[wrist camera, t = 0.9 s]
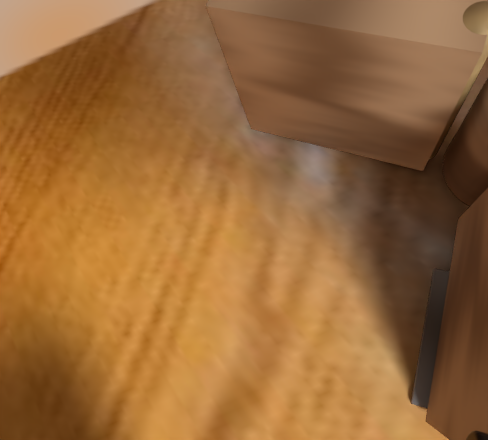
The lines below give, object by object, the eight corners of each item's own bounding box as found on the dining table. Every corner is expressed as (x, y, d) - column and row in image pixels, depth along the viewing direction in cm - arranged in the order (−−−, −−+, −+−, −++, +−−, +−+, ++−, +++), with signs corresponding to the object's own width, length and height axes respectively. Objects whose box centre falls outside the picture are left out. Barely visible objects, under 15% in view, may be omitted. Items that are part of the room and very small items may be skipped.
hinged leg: (443, 129, 22) (515, -13, 13) (431, 173, 21) (496, 54, 13) (266, 90, 24) (229, -49, 16) (251, 129, 24) (205, 6, 15)
